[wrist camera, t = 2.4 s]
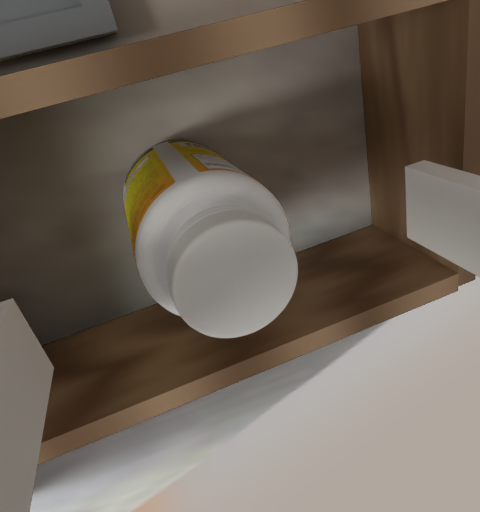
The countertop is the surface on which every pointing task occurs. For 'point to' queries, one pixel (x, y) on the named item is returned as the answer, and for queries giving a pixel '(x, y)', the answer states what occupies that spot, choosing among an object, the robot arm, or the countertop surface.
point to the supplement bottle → (208, 240)
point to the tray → (51, 24)
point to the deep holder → (309, 261)
